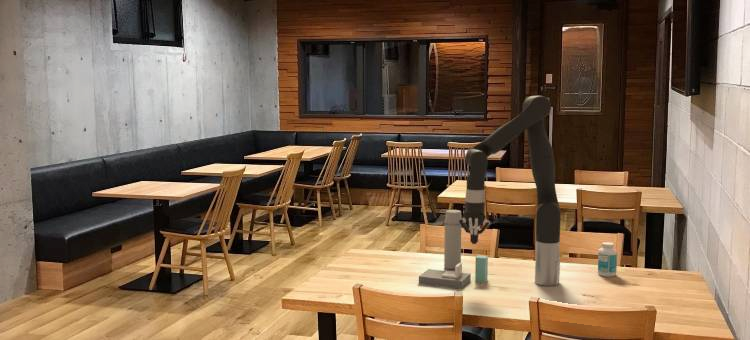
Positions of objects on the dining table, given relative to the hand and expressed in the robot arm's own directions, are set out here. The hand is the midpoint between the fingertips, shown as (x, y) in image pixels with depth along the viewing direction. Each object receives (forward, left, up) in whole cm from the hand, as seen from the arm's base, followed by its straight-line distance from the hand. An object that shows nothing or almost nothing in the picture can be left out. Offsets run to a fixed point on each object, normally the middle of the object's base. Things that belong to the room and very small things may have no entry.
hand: (474, 243), depth 294 cm
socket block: (+12, 0, -17) cm, 21 cm away
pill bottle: (-47, -37, -17) cm, 62 cm away
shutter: (+9, 0, -14) cm, 17 cm away
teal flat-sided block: (-1, -8, -17) cm, 19 cm away
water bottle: (+16, -23, -17) cm, 33 cm away
